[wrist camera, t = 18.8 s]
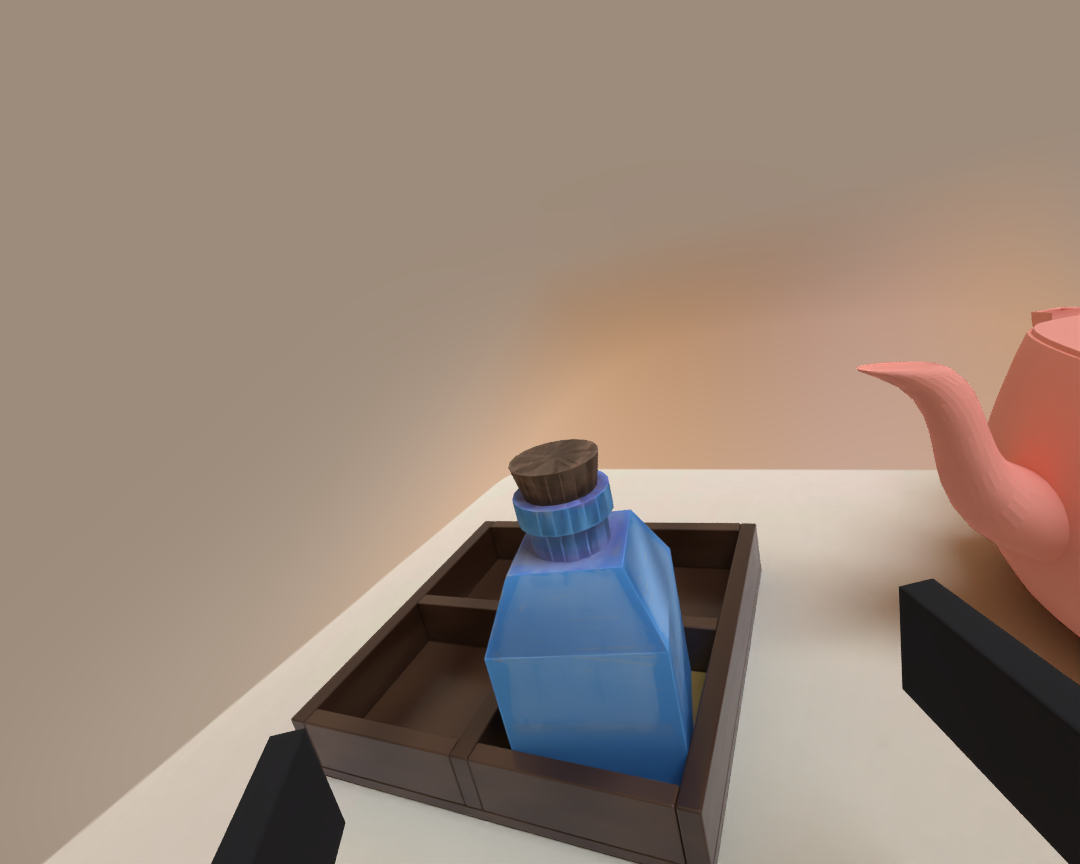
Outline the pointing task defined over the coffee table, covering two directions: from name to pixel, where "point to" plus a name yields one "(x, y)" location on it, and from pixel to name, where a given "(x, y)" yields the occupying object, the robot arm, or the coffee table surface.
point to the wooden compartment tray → (477, 726)
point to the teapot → (1014, 454)
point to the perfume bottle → (589, 626)
